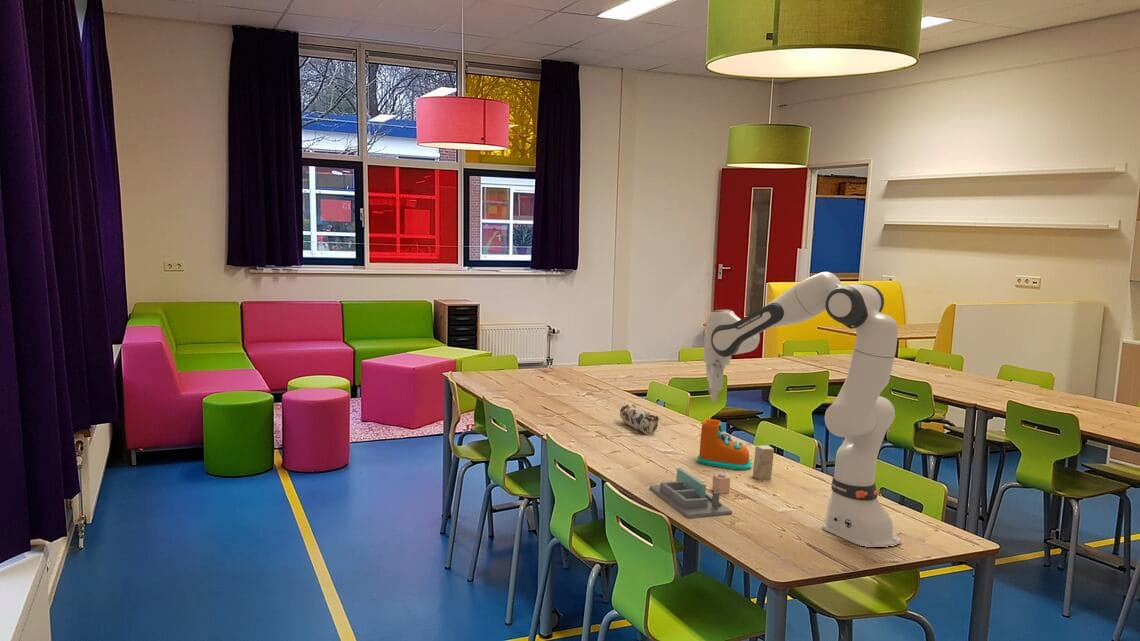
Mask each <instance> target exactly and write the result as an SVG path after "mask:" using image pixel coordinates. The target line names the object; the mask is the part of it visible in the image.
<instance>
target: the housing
mask: <svg viewBox="0 0 1140 641" xmlns="http://www.w3.org/2000/svg"><path fill="white" fill-rule="evenodd" d="M649 490H650V491H652V492H653V493H654V492H655V493H654V494H656V495H657V496H658V495H659V496H658V497H659V498H661V499H662V500H664V502H666V503H668V504H669V505H670V506H672V507H673V509H675V510H677V511H678V512H679V513H680V514H682V515H683V516H685V517H686V518H687V519H693V518H694V519H695V518H704V517H714V516H715V517H717V516H725V515H733V510H732V509H730V508H729V507H727V506H726V505H725V504H723V503H722V502H720V494H721V493H719V492H715V491H713V492H712V495H710V494H708V493H707V492H706V493H705V498H700V497H699V496H697V495H696V494H695V490H694V489H687V488H686V487H684V486H683V482H682V481H674V480H673V481H662V482H660V484H654V485H653V484H652V485H649Z"/></svg>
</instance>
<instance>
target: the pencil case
mask: <svg viewBox="0 0 1140 641" xmlns="http://www.w3.org/2000/svg"><path fill="white" fill-rule="evenodd" d="M619 416H620V419H621V420H622V422H624V424H626V425H627V426H629V427H630V428H633V429H635V430H637V431H639V432H641V433H644V434H645V435H647V436H652V435H653V434H654V433H655V432H656V431H657V429H658V427H659V421H660V419H659V416H658V415H655V414H653V413H651V412H650V411H645V410H643V409H642V408H640V407H636V406H635V405H634V404H633V403H631V402H629V401H628V402H625V403H624V405H622V406H621V407H620V409H619Z"/></svg>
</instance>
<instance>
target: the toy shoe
mask: <svg viewBox="0 0 1140 641" xmlns="http://www.w3.org/2000/svg"><path fill="white" fill-rule="evenodd" d="M700 431H701V432H700V441H699V443H700V444H699V445H700V446H699V454H698V455H697V457H696V460H697V462H698V463H700V464H702V465H705V466H710V467H715V466H716V467H717V468H723V469H731V470H738V469H739V471H740V469H741V471H742V470H744V471H745V470H748V469H749V468H751V466H752V461H751V460H750V452H749V449H748V448H747V447H746V446H745V445H743V443H742V442H741V441H740V440H737V441H734V440H733V439H732V436H731V434H730V433H728V432H726V431H725V430H724V423H723V422H722V421H721V420H720V419H719V420H718V419H716V418H715V419H713V418H707V419H705V420H704V421H703V422H702V425H701V430H700Z"/></svg>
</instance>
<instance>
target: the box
mask: <svg viewBox="0 0 1140 641" xmlns="http://www.w3.org/2000/svg"><path fill="white" fill-rule="evenodd" d="M754 452H755V453H754V460H753V471H752V476H753V477H754V478H756V479H757V480H772V473H773V465H774V464H773V462H774V456H775V455H774V453H775V448H773V447H771V446H770V445H755V450H754Z"/></svg>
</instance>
